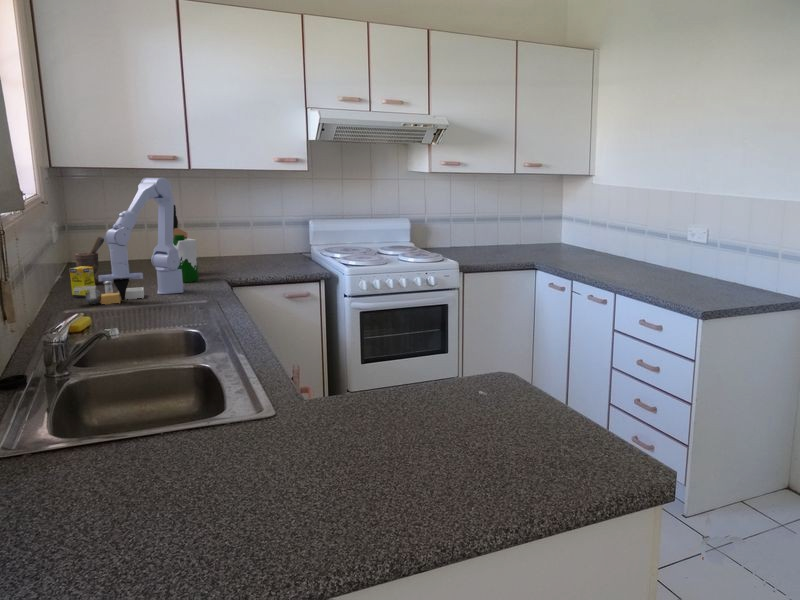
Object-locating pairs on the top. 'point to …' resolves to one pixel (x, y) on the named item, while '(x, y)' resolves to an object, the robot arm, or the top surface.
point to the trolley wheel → (90, 294)
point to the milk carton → (187, 257)
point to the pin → (108, 287)
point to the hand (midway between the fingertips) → (123, 299)
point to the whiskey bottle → (175, 227)
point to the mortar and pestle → (90, 257)
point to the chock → (110, 298)
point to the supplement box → (81, 279)
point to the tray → (134, 293)
